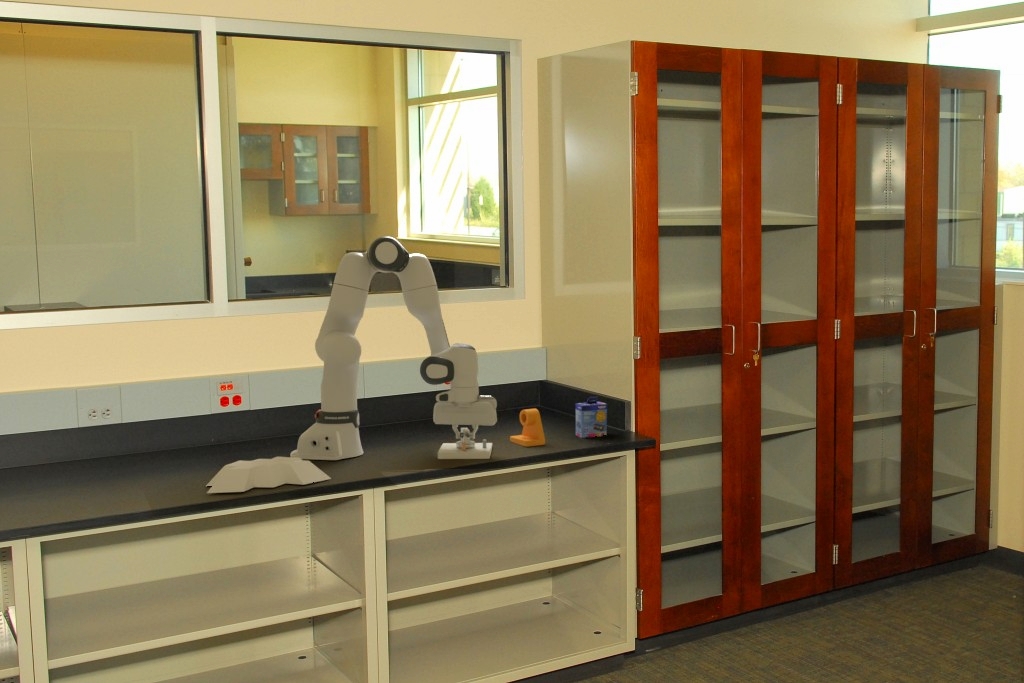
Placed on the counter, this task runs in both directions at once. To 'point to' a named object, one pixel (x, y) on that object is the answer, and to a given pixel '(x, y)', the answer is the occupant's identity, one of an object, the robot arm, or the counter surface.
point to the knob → (465, 439)
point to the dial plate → (465, 451)
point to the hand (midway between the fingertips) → (465, 438)
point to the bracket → (530, 429)
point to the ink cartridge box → (591, 418)
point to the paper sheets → (265, 474)
